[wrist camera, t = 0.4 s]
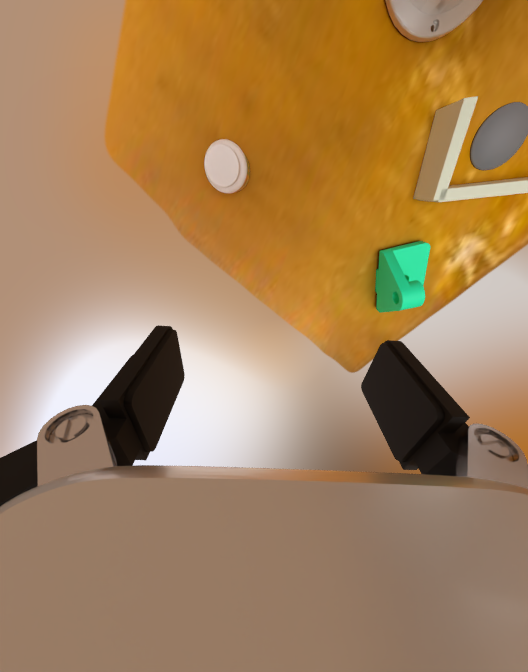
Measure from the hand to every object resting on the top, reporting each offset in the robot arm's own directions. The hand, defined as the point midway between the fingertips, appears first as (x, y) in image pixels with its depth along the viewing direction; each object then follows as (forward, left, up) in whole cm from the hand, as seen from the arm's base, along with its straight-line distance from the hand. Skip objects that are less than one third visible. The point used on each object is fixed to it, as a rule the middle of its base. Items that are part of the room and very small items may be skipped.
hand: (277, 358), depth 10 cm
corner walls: (-8, +32, -33) cm, 47 cm away
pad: (-9, +33, -33) cm, 48 cm away
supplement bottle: (-9, -5, -34) cm, 35 cm away
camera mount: (+10, +24, -34) cm, 43 cm away
